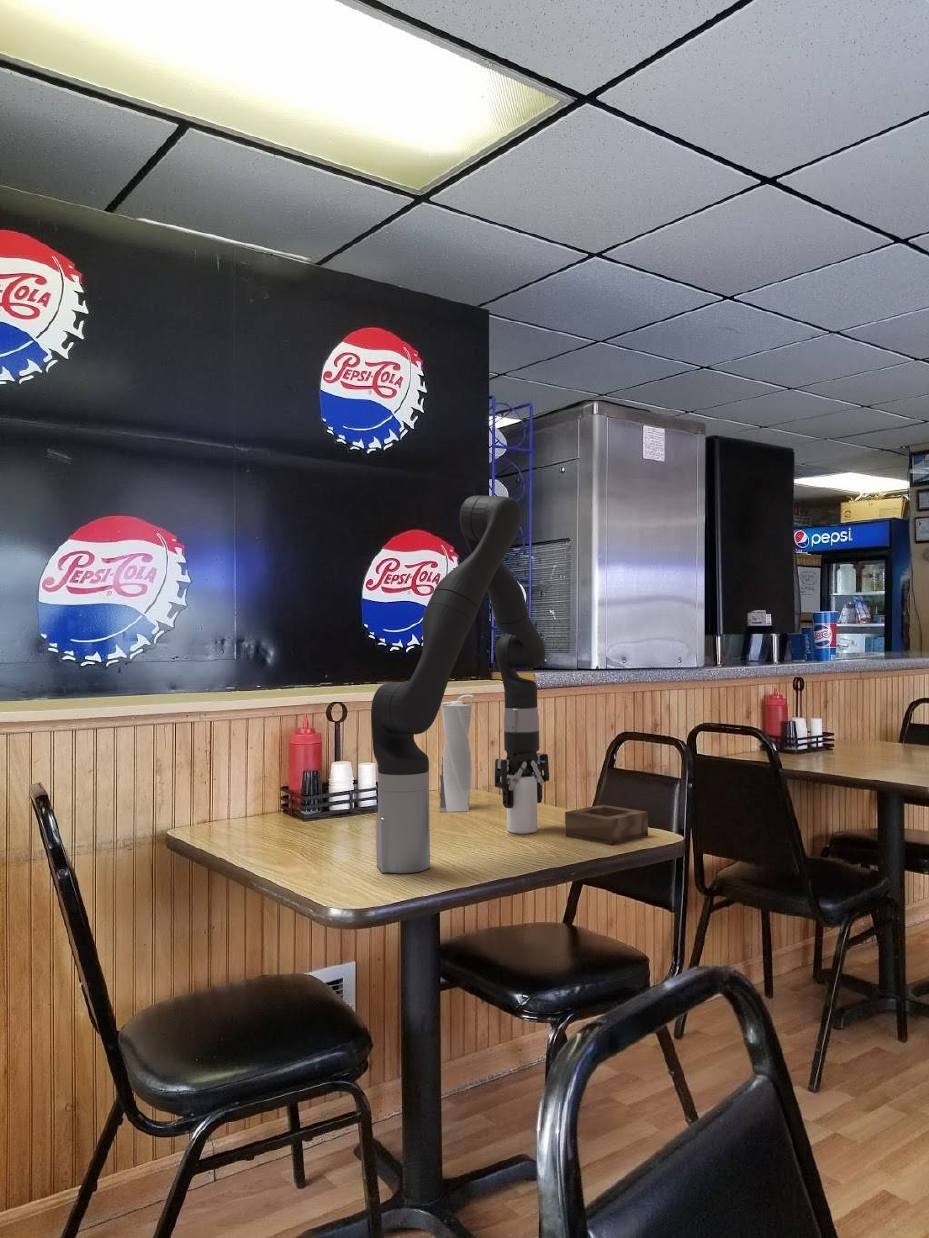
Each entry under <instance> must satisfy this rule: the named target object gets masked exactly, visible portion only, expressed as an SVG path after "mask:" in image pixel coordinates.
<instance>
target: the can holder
mask: <svg viewBox="0 0 929 1238" xmlns="http://www.w3.org/2000/svg"><path fill="white" fill-rule="evenodd" d="M564 829H565V830H564V833H565V837H567V838H573V839H576V840H577V839H578V840H582V841H587V842H594V843H598V844H604V845H608V846H614V845H617V844H622V843H626V842H631V841H633V840H638V839H641V838H645V837H648V836H649V811H645V810H639V809H633V808H626V807H620V806H619V807H618V806H613V805H609V804H608V805H606V804H600V805H594V806H589V807H584V808H579V809H574V810H569V811H565V812H564Z"/></svg>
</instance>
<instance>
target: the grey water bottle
mask: <svg viewBox="0 0 929 1238" xmlns="http://www.w3.org/2000/svg"><path fill="white" fill-rule="evenodd" d="M466 697H467V698H468V697H471V700H470V704H463V700H461V699H462V698H466ZM473 702H474V695H472V694H463V695H461V696H459V697H458V698H457V700H455V701H454V700H452V701H446V702H441V705H440V709H441V716H442V727H443V731H444V732H443V733H444V745H443V751H442V752H443V753H442V757H441V759H442V760H441V761H442V762H441V765H440V766H441V773H440V774H439V781H440V787H439V788H440V789H439V798H440V801H439V812H440V813H443V814H444V813H445V814H446V813H470V809H469V808H470V801H471V800H470V799H471V789H472V787H471V786H472V772H473V771H472V767H473V766H472V754H471V751H472V750H471V747H470V746H471V745H470V740H469V734H470V733H469V732H470V726H471V714H472V706H473Z"/></svg>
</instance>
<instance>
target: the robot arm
mask: <svg viewBox="0 0 929 1238" xmlns="http://www.w3.org/2000/svg"><path fill="white" fill-rule="evenodd" d="M521 521H522V509H521V505H520V504H519V502H518V501H517V500H516V499H515V498H513V497H509V496H504V495H503V496H498V495H497V496H496V495H473V496H469V497H468V498H467V497H466V499H465V500H464V501H463V503H462V505H461V508H460V510H459V524H460V530H461V533H462V535H463V537H464V539H465V543H466V544H467V545H466V546H467V547H468V549H469V551H470V555H469V556H468V557H466V558H465V559H464V560H463V561H462V562H460V563H459V564H458V565H457V566H455V567H454V568H453V569H451V570H450V572H448V573H447V574H446V575H445V576H444V577H443V578H442V579H441V580H440V581H439V582H438V583H437V584H436V586H435V588H434V590H433V592H432V594H431V595H430V596H431V597H430V599H429V600H428V602H427V604H426V607H425V608H424V612H423V615H422V620H421V622H422V623H421V630H422V631H421V634H422V651H421V655H420V658H419V661H418V663H417V664H416V667H415V669H414V671H413V673H412V675H411V677H410V679H409V680H408V681H407V682H406V681H403V682H402V681H391V682H386V683H383V684H381V686H379V687H378V688H377V690H376V691H375V693H374V695H373V698H372V702H371V707H370V708H371V710H370V714H371V715H370V720H371V738H372V739H371V740H372V752H373V756H374V758H375V761H376V764H377V796H378V797H377V807H378V808H377V809H378V811H377V812H376V814H375V819H376V820H375V826H376V827H375V832H376V833H375V834H376V835H375V837H376V839H375V840H376V841H375V842H376V846H375V848H376V849H375V850H376V866H377V868H378V869H379V870H380V873H384V874H385V873H393V874H410V873H412V874H413V873H418V872H422V871H427V870H428V869H430V867H431V837H430V836H431V829H430V827H431V826H430V824H431V823H430V760H429V759H430V758H429V756H428V755H427V754H426V753H425V752H424V751H423V750H422V749H421V748H419V746H418V745H417V743H416V741H415V737H414V735H420V734H423V733H425V732H426V731H428V730H429V729H430V727H431V726H432V725H433V723H434V722H435V720H436V717H437V715H438V713H439V710H440V709H441V704H442V703H443V702H442V701H443V698H444V695H445V693H446V689H447V685H448V684H449V680H450V677H451V674H452V671H453V669H454V667H455V664H456V662H457V660H458V656H459V654H460V653H461V652H460V651H461V649H462V647H463V645H464V643H465V641H466V638H467V636H468V634H469V632H470V630H471V628H472V626H473V623H474V621H475V620H476V617H477V616H478V613H479V610H480V607H481V605H482V602H483V601H484V598H485V596H486V594H487V593H488V597H489V600H490V605H491V608H492V612H493V613H492V614H493V616H494V621H495V624H496V627H497V629H498V630H499V631H500V632H501V633H504V634H506V635H503V636H501V637H500V638H498V641H497V642H496V645H495V650H494V653H495V659H496V663H497V667H498V669H499V673H500V676H501V681H502V685H503V691H504V692H503V695H504V712H503V713H504V714H503V741H504V742H503V745H504V747H503V748H504V751H505V752H506V757H505V758H496V759H495V761H494V787H495V788H498V789H501V790H502V791H501V792H502V805H503V807H504V808H506V809H507V808H513V806H514V805H513V790H512V789H513V787H514V785H515V783H516V782H517V781H518V780H519V778H520V777H525V776H531V774H534V775H535V776H534V777H535V779H536V782H537V804H541V803H542V799H543V785H544V784H545V782H549V781H550V769H549V768H550V766H549V755H548V754H547V753H541V752H538V751H540V715H539V710H538V709H539V708H538V685H537V683H536V681H534V680H532V679H528V678H523V677H521V676H520V675H519V674H518V672H517V670H516V669H535V668H536V669H537V668H538V667H540V666H541V665H543V663H544V660H545V658H546V646H545V643H544V641H543V639H542V636H541V635H540V633H539V631H538V630H537V629H536V626H535V624H534V623H533V621H532V620H531V618H530V616H529V612H528V607H527V602H526V598H525V595H524V591H523V589H522V587H521V585H520V583H519V581H518V580H517V578H516V577H515V576H514V574H513V573H512V572H511V571H510V569H509V568H508V567H507V566H506V565H505V563H504V562H503V561H504V559H505V557H506V555H507V553H508V551H509V550H510V548H511V547H512V545H513V543H514V541H515V539H516V537H517V535H518V532H519V531H520V530H519V529H520V528H521V527H520V526H521V523H522V522H521ZM511 774H512V775H513V776H512V775H511ZM509 781H510V782H509ZM508 783H509V784H508Z"/></svg>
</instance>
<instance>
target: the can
mask: <svg viewBox="0 0 929 1238" xmlns="http://www.w3.org/2000/svg"><path fill="white" fill-rule="evenodd" d="M511 775H512V774H511ZM512 776H513V775H512ZM534 776H535V775H534V774H531V776H525V777H520V778H519V780H518V781H517V782H516V783H515V785H514V787H513V789H512V790H513V805H514V806H513V808H506V828H507V829H506V831H508V832H509V833H510V834H513V833H515V835H530V834H529V833H532V834H534V832H535V833H537V831H538V803H537V782H536V779H535V777H534ZM509 782H510V781H509ZM508 784H509V783H508Z"/></svg>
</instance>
